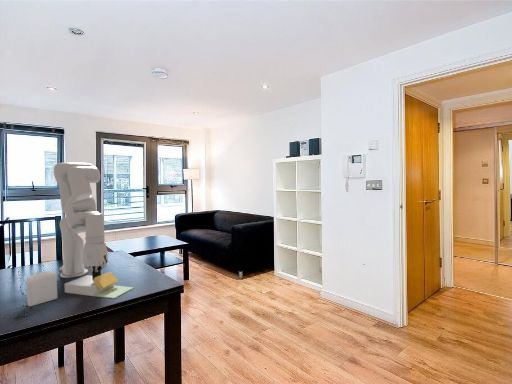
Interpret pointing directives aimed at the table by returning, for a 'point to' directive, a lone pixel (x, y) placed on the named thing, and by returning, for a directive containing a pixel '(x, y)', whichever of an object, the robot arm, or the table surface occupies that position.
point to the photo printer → (41, 288)
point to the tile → (105, 280)
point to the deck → (83, 286)
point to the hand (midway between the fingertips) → (96, 279)
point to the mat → (114, 292)
